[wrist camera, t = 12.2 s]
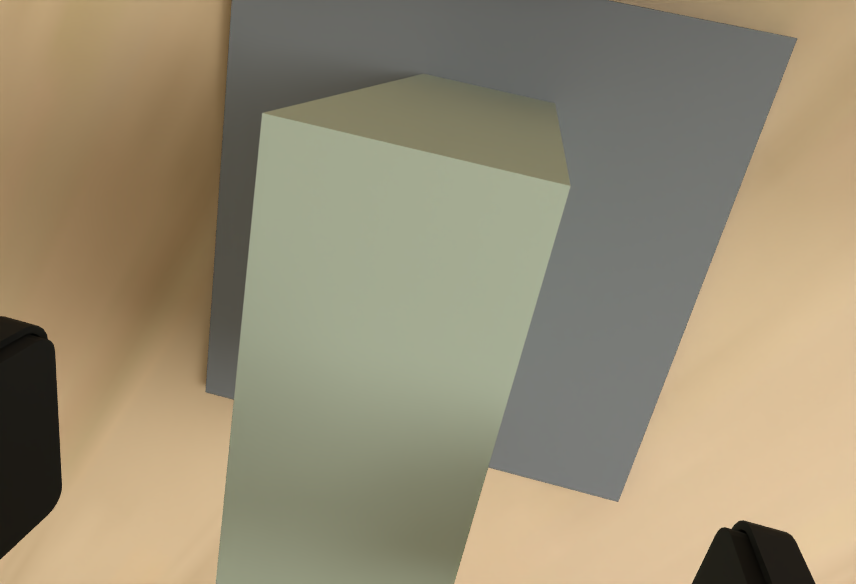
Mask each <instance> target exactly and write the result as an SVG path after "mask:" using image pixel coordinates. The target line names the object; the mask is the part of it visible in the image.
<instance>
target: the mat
mask: <svg viewBox="0 0 856 584" xmlns="http://www.w3.org/2000/svg"><path fill="white" fill-rule="evenodd" d="M796 41H797V38H793V37H788V36H783V35H778V34H773V33H768V32H763V31H758V30H753V29H748V28H743V27H738V26H733V25H728V24H723V23H718V22H713V21H708V20H703V19H698V18H693V17H688V16H684V15H679V14H674V13H669V12H664V11H659V10H654V9H649V8H644V7H639V6H634V5H629V4H624V3H619V2H614V1H609V0H232V6H231V21H230V36H229V51H228V65H227V80H226V95H225V110H224V125H223V140H222V155H221V170H220V185H219V200H218V215H217V230H216V245H215V259H214V274H213V289H212V304H211V319H210V334H209V349H208V364H207V379H206V392H207V393H211V394H214V395H218V396H222V397H226V398H230V399H233V400H234V394H235V384H236V374H237V364H238V354H239V344H240V334H241V323H242V313H243V303H244V293H245V283H246V273H247V263H248V253H249V242H250V232H251V222H252V212H253V202H254V192H255V182H256V172H257V161H258V151H259V141H260V131H261V121H262V113H264V112H269V111H273V110H277V109H281V108H285V107H289V106H293V105H297V104H301V103H305V102H310V101H314V100H318V99H322V98H326V97H330V96H334V95H338V94H342V93H346V92H351V91H355V90H359V89H363V88H367V87H371V86H375V85H379V84H383V83H387V82H392V81H396V80H400V79H404V78H408V77H412V76H416V75H420V74H428V75H432V76H436V77H441V78H445V79H450V80H454V81H459V82H463V83H467V84H472V85H476V86H481V87H485V88H489V89H494V90H498V91H503V92H507V93H511V94H516V95H520V96H525V97H529V98H533V99H538V100H542V101H547V102H551V103H555V106H556V111H557V116H558V122H559V127H560V132H561V137H562V143H563V148H564V153H565V159H566V164H567V169H568V175H569V180H570V185H571V187H570V190H569V193H568V197H567V200H566V204H565V207H564V210H563V214H562V217H561V221H560V224H559V227H558V231H557V234H556V238H555V241H554V245H553V248H552V251H551V255H550V258H549V262H548V265H547V268H546V272H545V275H544V279H543V282H542V285H541V289H540V292H539V296H538V299H537V302H536V306H535V309H534V313H533V316H532V320H531V323H530V326H529V330H528V333H527V337H526V340H525V343H524V347H523V350H522V354H521V357H520V360H519V364H518V367H517V371H516V374H515V377H514V381H513V384H512V388H511V391H510V395H509V398H508V401H507V405H506V408H505V412H504V415H503V418H502V422H501V425H500V429H499V432H498V435H497V439H496V442H495V446H494V449H493V452H492V456H491V459H490V463H489V466H488V467H489V468H493V469H496V470H500V471H504V472H508V473H511V474H515V475H519V476H523V477H526V478H530V479H534V480H538V481H541V482H545V483H549V484H553V485H556V486H560V487H564V488H568V489H571V490H575V491H579V492H583V493H587V494H590V495H594V496H598V497H602V498H605V499H609V500H613V501H617V502H618V501H619V499H620V496H621V493H622V491H623V488H624V486H625V483H626V480H627V478H628V475H629V473H630V470H631V467H632V465H633V462H634V460H635V457H636V455H637V452H638V449H639V447H640V444H641V442H642V439H643V436H644V434H645V431H646V429H647V426H648V423H649V421H650V418H651V416H652V413H653V411H654V408H655V405H656V403H657V400H658V398H659V395H660V392H661V390H662V387H663V385H664V382H665V380H666V377H667V374H668V372H669V369H670V367H671V364H672V361H673V359H674V356H675V354H676V351H677V348H678V346H679V343H680V341H681V338H682V336H683V333H684V330H685V328H686V325H687V323H688V320H689V317H690V315H691V312H692V310H693V307H694V305H695V302H696V299H697V297H698V294H699V292H700V289H701V286H702V284H703V281H704V279H705V276H706V273H707V271H708V268H709V266H710V263H711V261H712V258H713V255H714V253H715V250H716V248H717V245H718V242H719V240H720V237H721V235H722V232H723V230H724V227H725V224H726V222H727V219H728V217H729V214H730V211H731V209H732V206H733V204H734V201H735V198H736V196H737V193H738V191H739V188H740V186H741V183H742V180H743V178H744V175H745V173H746V170H747V167H748V165H749V162H750V160H751V157H752V155H753V152H754V149H755V147H756V144H757V142H758V139H759V136H760V134H761V131H762V129H763V126H764V123H765V121H766V118H767V116H768V113H769V111H770V108H771V105H772V103H773V100H774V98H775V95H776V92H777V90H778V87H779V85H780V82H781V80H782V77H783V74H784V72H785V69H786V67H787V64H788V61H789V59H790V56H791V54H792V51H793V48H794V46H795V43H796Z"/></svg>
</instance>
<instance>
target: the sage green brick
mask: <svg viewBox="0 0 856 584" xmlns="http://www.w3.org/2000/svg"><path fill="white" fill-rule="evenodd" d="M570 187H571V185H570V180H569V175H568V169H567V164H566V159H565V153H564V148H563V143H562V137H561V132H560V127H559V122H558V116H557V111H556V106H555V103H551V102H547V101H542V100H538V99H533V98H529V97H525V96H520V95H516V94H511V93H507V92H503V91H498V90H494V89H489V88H485V87H481V86H476V85H472V84H467V83H463V82H459V81H454V80H450V79H445V78H441V77H436V76H432V75H428V74H420V75H416V76H412V77H408V78H404V79H400V80H396V81H392V82H387V83H383V84H379V85H375V86H371V87H367V88H363V89H359V90H355V91H351V92H346V93H342V94H338V95H334V96H330V97H326V98H322V99H318V100H314V101H310V102H305V103H301V104H297V105H293V106H289V107H285V108H281V109H277V110H273V111H269V112H264V113H262V121H261V131H260V141H259V151H258V161H257V172H256V182H255V192H254V202H253V212H252V222H251V232H250V242H249V253H248V263H247V273H246V283H245V293H244V303H243V313H242V323H241V334H240V344H239V354H238V364H237V374H236V384H235V394H234V404H233V414H232V425H231V435H230V445H229V455H228V465H227V475H226V485H225V495H224V506H223V516H222V526H221V536H220V546H219V556H218V566H217V576H216V584H454V582H455V579H456V575H457V572H458V568H459V565H460V562H461V558H462V555H463V551H464V548H465V545H466V541H467V538H468V534H469V531H470V527H471V524H472V521H473V517H474V514H475V510H476V507H477V504H478V500H479V497H480V493H481V490H482V487H483V483H484V480H485V476H486V473H487V470H488V466H489V463H490V459H491V456H492V452H493V449H494V446H495V442H496V439H497V435H498V432H499V429H500V425H501V422H502V418H503V415H504V412H505V408H506V405H507V401H508V398H509V395H510V391H511V388H512V384H513V381H514V377H515V374H516V371H517V367H518V364H519V360H520V357H521V354H522V350H523V347H524V343H525V340H526V337H527V333H528V330H529V326H530V323H531V320H532V316H533V313H534V309H535V306H536V302H537V299H538V296H539V292H540V289H541V285H542V282H543V279H544V275H545V272H546V268H547V265H548V262H549V258H550V255H551V251H552V248H553V245H554V241H555V238H556V234H557V231H558V227H559V224H560V221H561V217H562V214H563V210H564V207H565V204H566V200H567V197H568V193H569V190H570Z"/></svg>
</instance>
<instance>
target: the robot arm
mask: <svg viewBox="0 0 856 584" xmlns="http://www.w3.org/2000/svg"><path fill="white" fill-rule="evenodd" d="M61 491H62V478H61V458H60V439H59V419H58V400H57V380H56V361H55V348H54V345H53V343H52V342H51V341H50V340H48V338H47V334H46V332H45V331H44V329H42V328H41V327H39V326H36V325H33V324H29V323H26V322H22V321H18V320H15V319H11V318H7V317H2V316H0V559H1V558H2V557H3V556H5V555H6V554H7V553H8V552H9V551H10V550H11V549H12V548H13V547H14V546H15V545H16V544H17V543H18V542H19V541H21V540H22V539H23V538H24V537H25V536H26V535H27V534H28V533H29V532H30V531H31V530H32V529H33V528H34V527H35V526H37V525H38V524H39V523H40V522H41V521H42V520H43V519H44V518H45V517H46V516H47V515H48V514H49V513H50V512H51V511H52V510H53V508H54V507H55V505H56V504H57V502H58V500H59V498H60V494H61ZM692 584H815V582H814V580H813V577H812V575H811V573H810V571H809V569H808V567H807V565H806V562H805V560H804V558H803V556H802V554H801V552H800V550H799V547H798V545H797V543H796V541H795V540H794V538H793V537H792V535H790V534H788V533H787V532H783V531H780V530H776V529H773V528H769V527H765V526H762V525H758V524H754V523H751V522H747V521H738V522H737V523H736V524H735V525H734V526H733V528H732V529H729V528H725V527H724V528H721V529H720V530H718V532H717V534H716V535H715V537H714V539H713V541H712V543H711V545H710V547H709V550H708V552H707V554H706V556H705V558H704V560H703V562H702V564H701V566H700V568H699V570H698V572H697V574H696V576H695V578H694V580H693V583H692Z"/></svg>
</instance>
